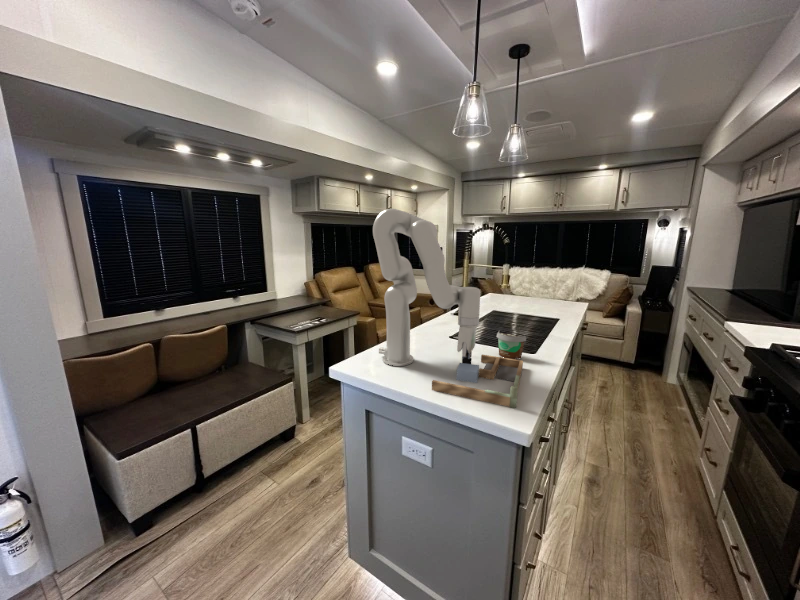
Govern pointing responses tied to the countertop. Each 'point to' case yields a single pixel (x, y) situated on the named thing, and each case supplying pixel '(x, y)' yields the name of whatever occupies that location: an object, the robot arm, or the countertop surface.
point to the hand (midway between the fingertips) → (466, 367)
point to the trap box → (506, 371)
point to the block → (467, 372)
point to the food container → (510, 345)
